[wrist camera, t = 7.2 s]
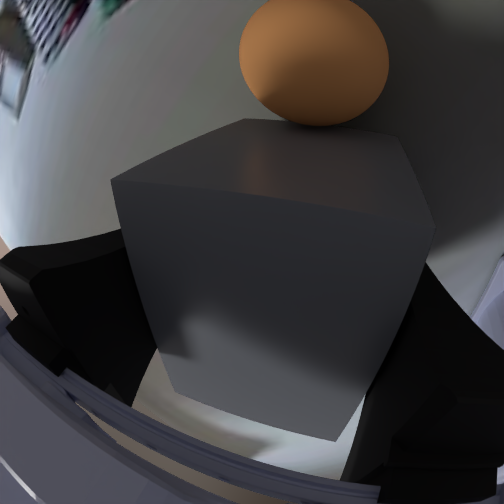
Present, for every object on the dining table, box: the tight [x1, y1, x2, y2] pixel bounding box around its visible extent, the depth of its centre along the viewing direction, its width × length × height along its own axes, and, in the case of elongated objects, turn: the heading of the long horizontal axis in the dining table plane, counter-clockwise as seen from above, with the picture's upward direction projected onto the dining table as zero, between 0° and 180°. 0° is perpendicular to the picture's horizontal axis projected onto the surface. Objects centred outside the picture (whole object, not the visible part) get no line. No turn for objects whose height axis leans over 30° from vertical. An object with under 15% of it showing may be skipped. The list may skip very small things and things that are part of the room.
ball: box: [239, 0, 389, 126], centre depth 8 cm, size 5×5×5 cm
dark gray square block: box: [111, 119, 436, 442], centre depth 10 cm, size 6×8×7 cm
